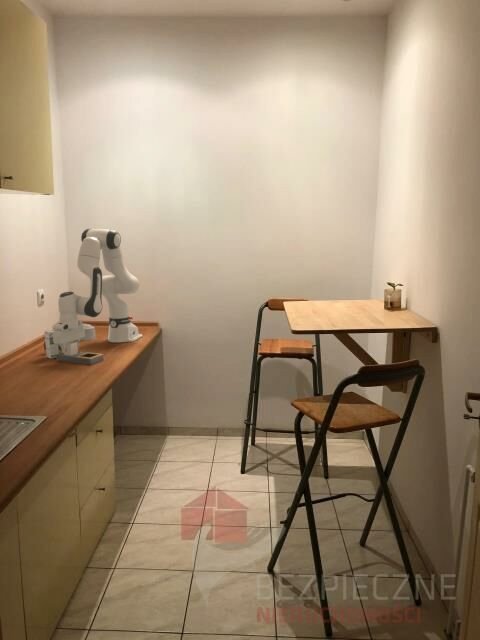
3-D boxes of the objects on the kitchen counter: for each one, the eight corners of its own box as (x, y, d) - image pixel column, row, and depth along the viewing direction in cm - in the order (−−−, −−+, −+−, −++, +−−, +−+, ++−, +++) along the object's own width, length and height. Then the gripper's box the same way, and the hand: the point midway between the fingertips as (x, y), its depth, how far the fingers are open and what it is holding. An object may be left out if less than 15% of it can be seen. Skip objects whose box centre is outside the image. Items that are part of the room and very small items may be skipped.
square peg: (70, 357, 282) (69, 341, 280) (78, 358, 280) (77, 341, 278) (64, 360, 278) (62, 343, 276) (71, 360, 275) (70, 344, 274)
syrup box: (50, 359, 280) (48, 332, 277) (46, 356, 284) (44, 330, 281) (61, 357, 283) (59, 330, 280) (56, 355, 288) (54, 328, 285)
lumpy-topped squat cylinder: (75, 337, 330) (74, 323, 329) (96, 336, 332) (95, 322, 330) (71, 341, 320) (70, 327, 318) (94, 340, 321) (93, 326, 320)
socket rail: (70, 356, 285) (70, 350, 285) (103, 360, 276) (103, 354, 276) (57, 360, 276) (56, 354, 276) (90, 365, 267) (90, 358, 267)
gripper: (77, 319, 286) (79, 344, 288) (49, 326, 267) (51, 353, 270) (87, 320, 283) (88, 345, 286) (59, 327, 265) (61, 354, 267)
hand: (70, 349), depth 278 cm, fingers open, 8 cm apart
